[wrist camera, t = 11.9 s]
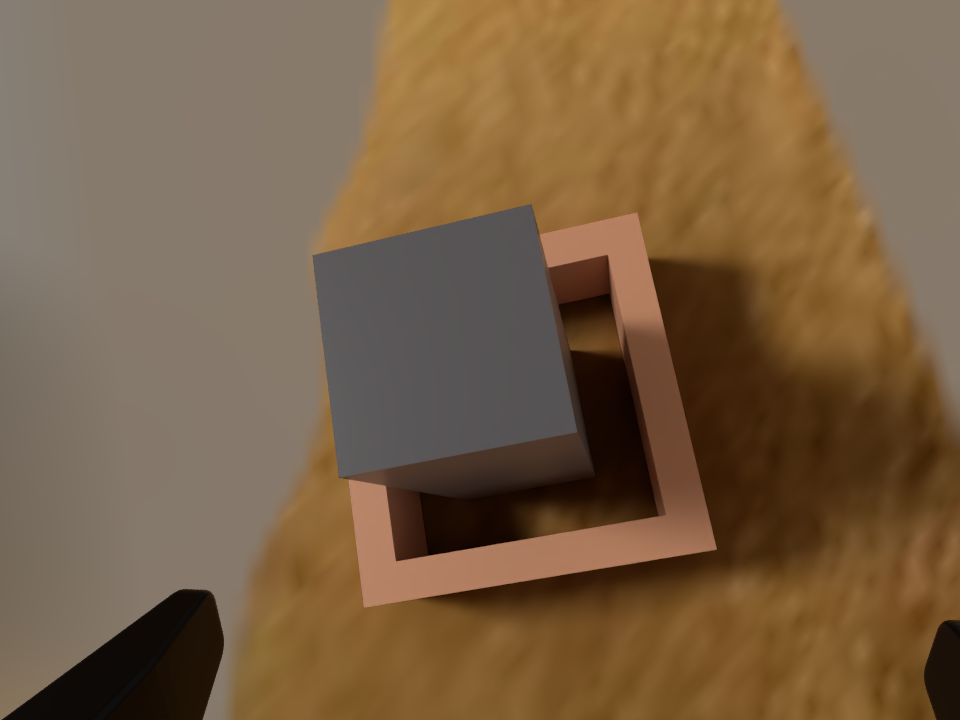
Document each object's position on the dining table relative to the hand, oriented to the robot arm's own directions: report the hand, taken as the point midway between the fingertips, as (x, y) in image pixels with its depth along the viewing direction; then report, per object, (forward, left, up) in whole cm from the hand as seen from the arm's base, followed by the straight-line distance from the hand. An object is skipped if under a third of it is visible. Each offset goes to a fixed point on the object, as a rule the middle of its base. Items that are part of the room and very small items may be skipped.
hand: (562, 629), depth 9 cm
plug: (+2, +4, -13) cm, 14 cm away
